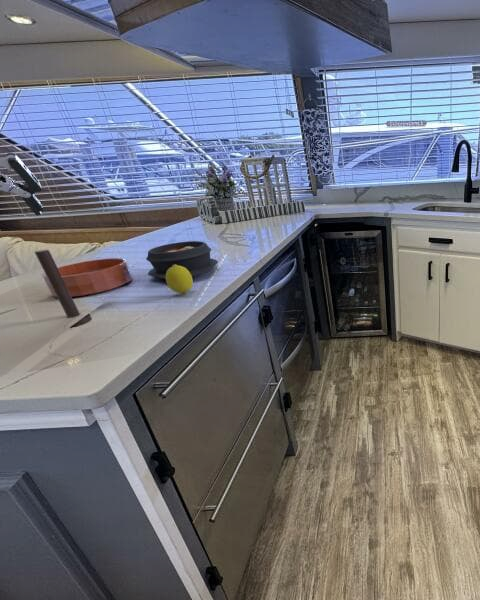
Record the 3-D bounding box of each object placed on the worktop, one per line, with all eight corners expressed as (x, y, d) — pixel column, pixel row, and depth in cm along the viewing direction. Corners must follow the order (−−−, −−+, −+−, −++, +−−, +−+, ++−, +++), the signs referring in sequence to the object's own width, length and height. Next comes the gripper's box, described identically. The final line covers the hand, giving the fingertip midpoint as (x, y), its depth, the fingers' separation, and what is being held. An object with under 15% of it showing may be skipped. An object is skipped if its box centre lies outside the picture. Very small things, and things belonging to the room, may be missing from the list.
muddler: (56, 329, 67) (17, 255, 60) (70, 319, 71) (35, 249, 65) (84, 325, 68) (48, 252, 62) (96, 316, 72) (64, 246, 66)
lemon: (200, 292, 84) (191, 263, 80) (178, 300, 79) (167, 269, 76) (190, 289, 86) (180, 260, 83) (167, 296, 82) (157, 266, 79)
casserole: (228, 274, 97) (221, 247, 93) (153, 291, 86) (142, 261, 83) (210, 259, 114) (204, 235, 111) (147, 271, 104) (137, 245, 100)
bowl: (36, 303, 81) (24, 281, 79) (76, 281, 96) (67, 262, 94) (116, 293, 86) (107, 272, 83) (142, 274, 101) (135, 255, 98)
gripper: (-14, 107, 50) (55, 198, 62) (-164, 119, 43) (-53, 219, 55) (-9, 128, 47) (62, 219, 59) (-170, 145, 40) (-51, 245, 52)
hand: (7, 219), depth 57 cm, fingers open, 8 cm apart
